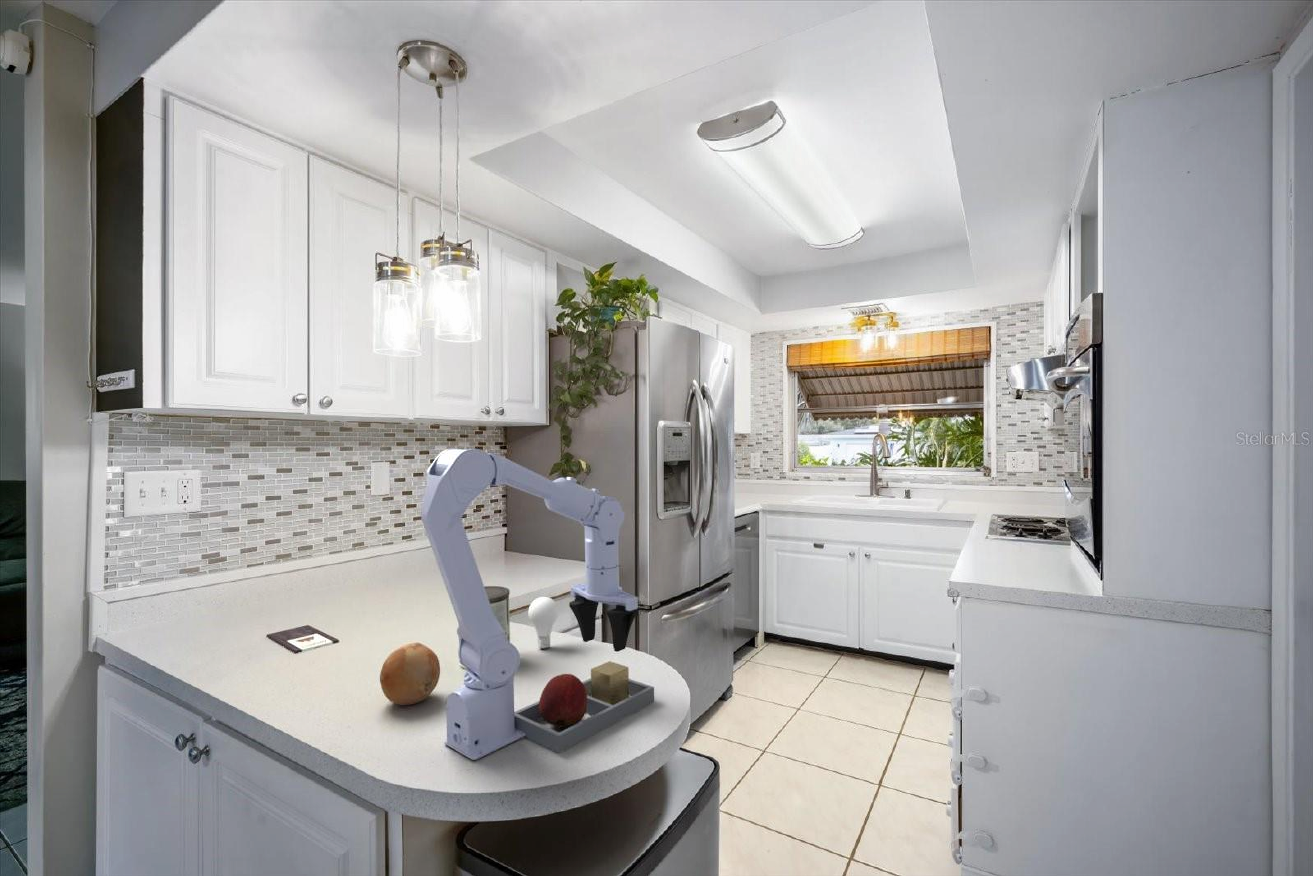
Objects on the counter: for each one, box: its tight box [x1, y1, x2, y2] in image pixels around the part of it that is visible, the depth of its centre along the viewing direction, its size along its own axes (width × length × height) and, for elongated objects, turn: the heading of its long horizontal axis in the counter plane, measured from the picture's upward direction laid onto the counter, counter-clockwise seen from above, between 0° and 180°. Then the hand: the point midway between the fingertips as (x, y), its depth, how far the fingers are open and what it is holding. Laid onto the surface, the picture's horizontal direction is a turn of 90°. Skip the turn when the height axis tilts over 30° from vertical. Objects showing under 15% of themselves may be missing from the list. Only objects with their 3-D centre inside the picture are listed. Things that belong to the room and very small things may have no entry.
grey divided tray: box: [514, 677, 655, 754], centre depth 99 cm, size 21×11×2 cm, turn 140°
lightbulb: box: [527, 596, 559, 650], centre depth 131 cm, size 6×6×11 cm
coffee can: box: [457, 585, 511, 670], centre depth 124 cm, size 10×10×14 cm
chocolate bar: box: [266, 624, 340, 655], centre depth 140 cm, size 9×1×18 cm
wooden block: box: [590, 660, 630, 705], centre depth 103 cm, size 4×4×6 cm
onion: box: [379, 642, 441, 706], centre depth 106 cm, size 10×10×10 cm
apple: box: [539, 673, 587, 731], centre depth 95 cm, size 7×8×8 cm
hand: (604, 645), depth 104 cm, fingers open, 7 cm apart
